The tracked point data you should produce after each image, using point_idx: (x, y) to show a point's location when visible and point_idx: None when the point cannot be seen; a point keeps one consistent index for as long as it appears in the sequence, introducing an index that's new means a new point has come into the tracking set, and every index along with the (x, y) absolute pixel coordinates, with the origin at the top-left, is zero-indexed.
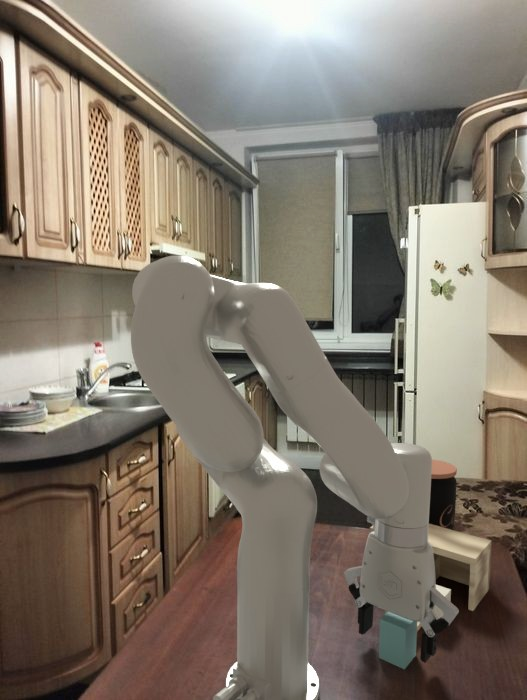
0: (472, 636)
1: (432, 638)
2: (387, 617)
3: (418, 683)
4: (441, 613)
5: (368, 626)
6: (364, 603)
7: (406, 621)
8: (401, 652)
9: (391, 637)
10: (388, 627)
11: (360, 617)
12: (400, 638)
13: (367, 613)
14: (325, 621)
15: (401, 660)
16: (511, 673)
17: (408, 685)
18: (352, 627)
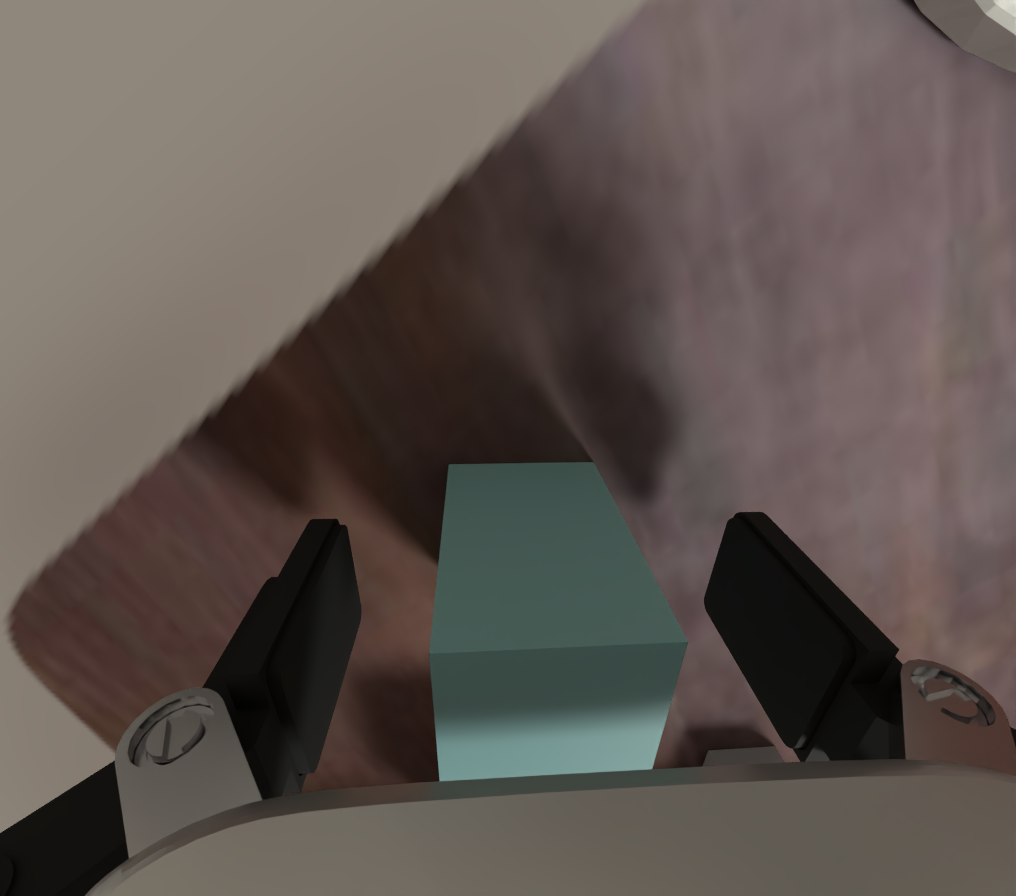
0: (336, 772)
1: (210, 685)
2: (636, 689)
3: (339, 415)
4: None
5: (726, 581)
6: (912, 723)
7: (480, 729)
8: (467, 512)
9: (549, 558)
10: (591, 608)
11: (831, 589)
12: (478, 575)
13: (794, 649)
14: (917, 532)
15: (466, 485)
16: (100, 698)
17: (370, 367)
18: None
